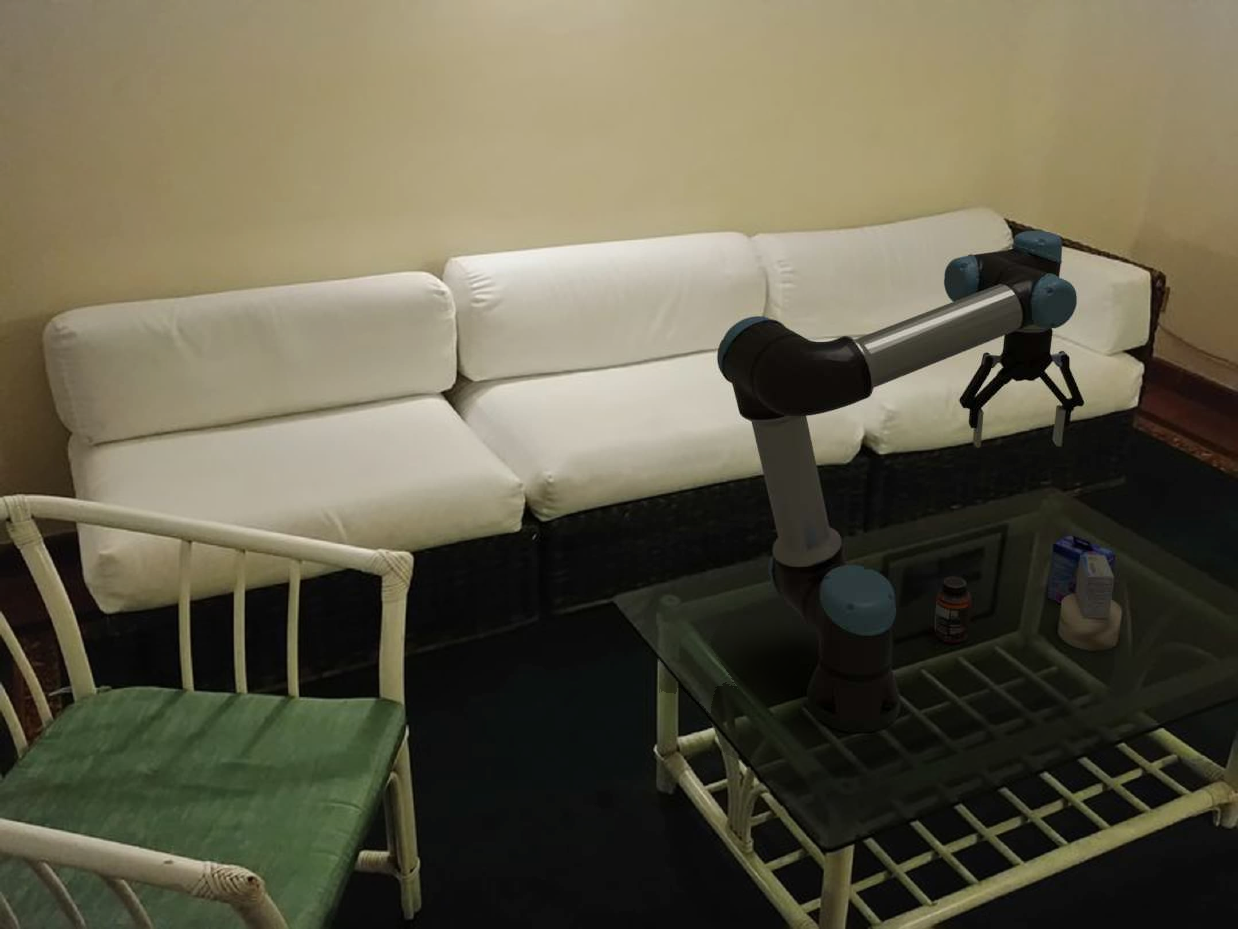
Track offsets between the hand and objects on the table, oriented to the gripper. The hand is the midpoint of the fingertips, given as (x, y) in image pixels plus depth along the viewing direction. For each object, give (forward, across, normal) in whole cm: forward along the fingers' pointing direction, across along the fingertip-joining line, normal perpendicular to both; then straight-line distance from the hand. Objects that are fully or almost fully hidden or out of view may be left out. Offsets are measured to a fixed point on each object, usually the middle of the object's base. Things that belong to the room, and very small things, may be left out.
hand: (1016, 443), depth 196 cm
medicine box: (+29, +14, -7) cm, 33 cm away
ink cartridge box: (+35, +15, +4) cm, 38 cm away
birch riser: (+35, +14, -7) cm, 38 cm away
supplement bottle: (+35, -10, -7) cm, 37 cm away
